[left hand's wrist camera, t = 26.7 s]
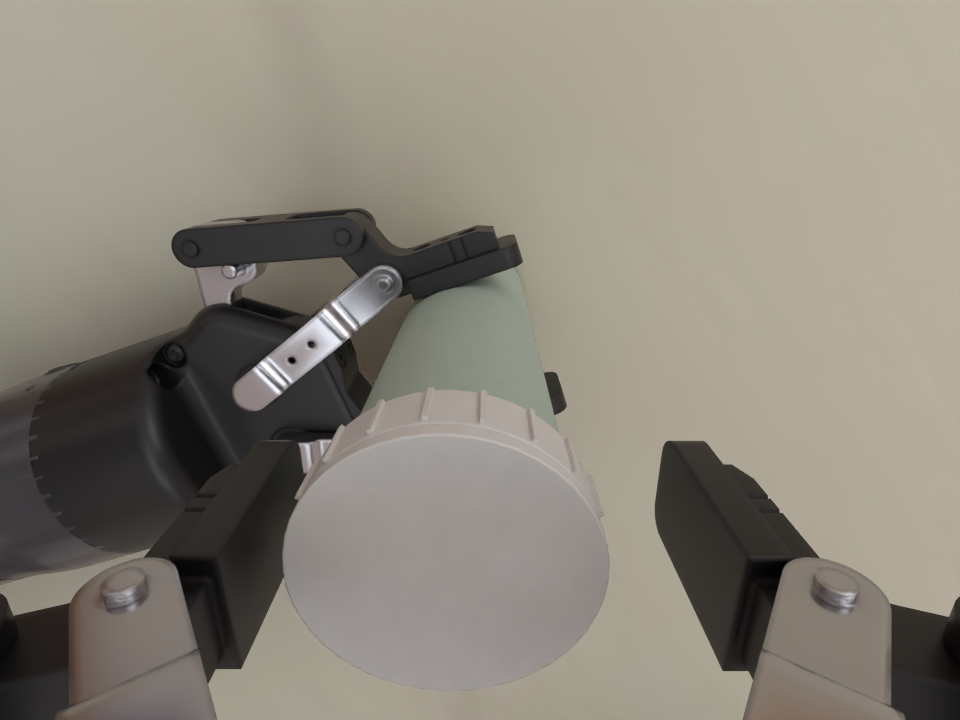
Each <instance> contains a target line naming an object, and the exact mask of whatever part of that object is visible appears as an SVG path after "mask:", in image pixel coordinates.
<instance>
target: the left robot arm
mask: <svg viewBox="0 0 960 720" xmlns="http://www.w3.org/2000/svg"><path fill="white" fill-rule="evenodd" d="M303 481H304V472H303V465H302V457H301V450H300V446H299V444H298V442H297V441H296V440H259V441H258V442H257V443H256V444H255V445H254V446H253V448H252V449H251V450H250V451H249V453H248V454H247V455H246V457H245V458H244V459H243V461H242V462H241V463H240V464H230V465H229V466H227V467H226V468H224V469H223V470H221V471H219V472H218V473H216V474H215V475H213V476H212V477H210V478H209V479H208V480H207V482H206V483H205V484H204V485H203V487H202V488H201V489H200V490H199V491H198V493H197V494H196V498H193V499H192V500H191V501H190V502H189V503H188V505H187V506H186V507H185V511H184V512H181V513H180V514H179V516H178V517H177V518H176V519H175V520H174V522H173V523H172V524H171V525H170V526H169V528H168V529H167V530H166V531H165V532H164V534H163V535H162V536H161V537H160V539H159V540H158V541H157V542H156V543H155V545H154V546H153V547H152V548H151V549H150V551H149V552H148V553H147V554H146V555H145V557H144V558H139V559H134V560H130V561H127V562H123V563H121V564H118V565H115V566H113V567H111V568H109V569H107V570H105V571H103V572H101V573H100V574H98V575H96V576H95V577H93V578H92V579H91V580H89V581H88V582H87V583H86V584H85V585H83V586H82V587H81V588H80V589H79V591H78V592H77V593H76V594H75V596H74V597H73V599H72V601H71V603H68V604H64V605H60V606H55V607H51V608H46V609H42V610H37V611H33V612H29V613H24V614H20V615H15V616H13V614H12V611H11V609H10V606H9V604H8V601H7V599H6V598H5V597H4V596H3V595H2V594H0V720H217V717H216V713H215V709H214V706H213V702H212V698H211V694H210V691H209V687H208V683H209V681H210V679H211V677H212V675H213V673H214V671H215V669H241V668H242V666H243V664H244V662H245V659H246V657H247V655H248V653H249V651H250V649H251V646H252V644H253V642H254V640H255V638H256V636H257V633H258V631H259V629H260V627H261V625H262V623H263V620H264V618H265V616H266V614H267V612H268V610H269V607H270V605H271V603H272V601H273V599H274V597H275V594H276V592H277V590H278V588H279V586H280V584H281V581H282V579H283V577H284V574H283V564H282V549H283V541H284V535H285V531H286V528H287V525H288V522H289V519H290V517H291V515H292V513H293V511H294V509H295V507H296V505H297V503H298V501H299V500H296V499H294V498H295V496H296V494H297V492H298V490H299V488H300V486H301V484H302V482H303ZM655 519H656V525H657V529H658V533H659V535H660V537H661V539H662V542H663V544H664V546H665V548H666V550H667V552H668V554H669V557H670V559H671V561H672V563H673V565H674V567H675V569H676V572H677V574H678V576H679V578H680V580H681V582H682V584H683V587H684V589H685V591H686V593H687V595H688V597H689V599H690V602H691V604H692V606H693V608H694V610H695V612H696V614H697V617H698V619H699V621H700V623H701V625H702V627H703V629H704V631H705V634H706V636H707V638H708V640H709V642H710V644H711V646H712V649H713V651H714V653H715V655H716V657H717V659H718V661H719V664H720V666H721V668H722V670H723V671H749V673H750V675H751V677H752V678H753V683H752V687H751V691H750V694H749V698H748V702H747V706H746V709H745V713H744V717H743V720H960V597H959V598H958V599H957V600H956V601H955V604H954V606H953V609H952V611H951V614H950V616H949V617H946V616H941V615H937V614H932V613H928V612H924V611H919V610H915V609H910V608H906V607H901V606H897V605H893V604H890V603H889V601H888V599H887V597H886V596H885V594H884V593H883V592H882V591H881V589H880V588H879V587H878V586H877V585H875V584H874V583H873V582H872V581H871V580H869V579H868V578H867V577H865V576H864V575H862V574H860V573H859V572H857V571H855V570H853V569H851V568H849V567H847V566H845V565H842V564H839V563H837V562H833V561H830V560H826V559H821V558H819V556H818V555H817V554H816V553H815V552H814V550H813V549H812V548H811V547H810V546H809V544H808V543H807V542H806V541H805V540H804V538H803V537H802V536H801V535H800V534H799V532H798V531H797V530H796V529H795V528H794V526H793V525H792V524H791V523H790V522H789V520H788V519H787V518H786V517H785V516H784V515H783V513H780V512H779V509H778V507H777V506H776V505H775V504H774V503H773V501H772V500H771V499H768V495H767V494H766V493H765V492H764V491H763V489H762V488H761V487H760V486H759V485H758V483H757V482H756V481H755V480H754V479H753V478H752V477H750V476H749V475H747V474H745V473H744V472H742V471H741V470H739V469H738V468H736V467H735V466H733V465H723V464H722V462H721V461H720V460H719V458H718V457H717V456H716V455H715V453H714V452H713V451H712V449H711V448H710V447H709V446H708V444H707V443H706V442H704V441H667V442H666V443H665V444H664V447H663V451H662V457H661V464H660V471H659V479H658V486H657V493H656V500H655Z"/></svg>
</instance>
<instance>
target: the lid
mask: <svg viewBox="0 0 960 720" xmlns="http://www.w3.org/2000/svg"><path fill="white" fill-rule="evenodd" d="M294 499H296V500H299V501H298V503H297V505H296V507H295V509H294V511H293V513H292V515H291V517H290V519H289V522H288V525H287V528H286V531H285V535H284V541H283V549H282V564H283V574H284V579H285V584H286V588H287V591H288V593H289V596H290V598H291V601H292V604H293V605H294V607H295V609H296V611H297V613H298V614H299V616H300V618H301V619H302V621H303V622H304V623H305V625H306V626H307V627H308V629H309V630H310V631H311V632H312V633H313V634H314V635H315V636H316V638H317V639H318V640H319V641H320V642H321V643H322V644H323V645H325V646H326V647H327V648H328V649H329V650H331V651H332V652H333V653H334V654H336V655H337V656H338V657H340V658H341V659H343V660H345V661H346V662H348V663H349V664H351V665H352V666H354V667H356V668H358V669H360V670H362V671H364V672H366V673H368V674H371V675H373V676H376V677H378V678H381V679H384V680H386V681H390V682H393V683H397V684H401V685H404V686H409V687H415V688H420V689H428V690H440V691H464V690H473V689H482V688H487V687H492V686H497V685H502V684H505V683H508V682H512V681H515V680H518V679H520V678H523V677H525V676H528V675H530V674H532V673H535V672H537V671H538V670H540V669H542V668H544V667H546V666H547V665H549V664H551V663H552V662H554V661H555V660H557V659H558V658H559V657H561V656H562V655H564V654H565V653H566V652H567V651H568V650H569V649H570V648H571V647H573V646H574V645H575V644H576V643H577V642H578V641H579V640H580V638H581V637H582V636H583V635H584V634H585V632H586V631H587V630H588V629H589V627H590V626H591V624H592V622H593V621H594V619H595V617H596V616H597V614H598V612H599V609H600V607H601V605H602V602H603V600H604V597H605V593H606V589H607V585H608V578H609V566H610V565H609V553H608V546H607V542H606V538H605V535H604V531H603V527H602V524H601V521H600V518H599V517H602V516H604V514H603V511H602V507H601V504H600V501H599V498H598V495H597V492H596V488H595V485H594V482H593V479H592V476H591V475H588V476H587V475H586V473H585V471H584V468H583V466H582V464H581V462H580V460H579V459H578V457H577V456H576V454H575V452H574V449H573V446H572V442H571V440H570V439H569V438H568V437H567V438H566V439H564V438H563V437H562V436H561V435H560V434H559V433H558V432H557V431H556V430H555V429H553V428H552V427H551V426H550V425H549V424H548V423H547V422H545V421H544V420H542V419H541V418H539V417H538V416H536V415H535V410H534V409H532V408H529V409H528V410H526V409H524V408H522V407H520V406H518V405H516V404H514V403H512V402H509V401H506V400H503V399H500V398H498V397H495V396H491V395H487V391H485V390H481V391H480V393H477V392H471V391H461V390H434V387H428V388H427V391H425V392H418V393H413V394H409V395H405V396H401V397H398V398H394V399H392V400H389V401H387V402H385V401H384V399H381V400H379V401H378V402H377V404H376V406H375V407H373V408H372V409H370V410H368V411H366V412H365V413H363V414H361V415H360V416H358V417H357V418H356V419H354V420H353V421H352V422H350V423H349V424H348V425H347V426H344V425H340V426H339V427H338V429H337V431H336V433H335V435H334V437H333V439H332V441H331V443H330V444H329V446H328V447H327V449H326V450H325V451H324V453H323V455H322V457H321V459H320V461H318V460H316V459H315V460H314V462H313V464H312V466H311V468H310V469H309V471H308V473H307V475H306V477H305V479H304V481H303V482H302V484H301V486H300V488H299V490H298V492H297V494H296V496H295V498H294Z"/></svg>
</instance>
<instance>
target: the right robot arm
mask: <svg viewBox="0 0 960 720" xmlns="http://www.w3.org/2000/svg"><path fill="white" fill-rule="evenodd" d="M172 251H173V253H174V255H175V257H176V258H177V260H178V261H179V262H181V263H182V264H183V265H185V266H187V267H191V268H194V269H195V273H196V276H197V280H198V284H199V287H200V291H201V295H202V298H203V302H204V306H205V308H204V309H202V310H201V311H200V312H199V313H198V314H197V315H196V316H195V317H194V319H193V320H192V322H191V323H190V324H189V325H188V326H186V327H184V328H181V329H178V330H175V331H172V332H169V333H166V334H163V335H160V336H158V337H155V338H152V339H149V340H146V341H143V342H140V343H137V344H134V345H131V346H128V347H126V348H123V349H120V350H117V351H114V352H111V353H108V354H105V355H102V356H100V357H97V358H94V359H91V360H88V361H85V362H82V363H74V364H69V365H65V366H62V367H58V368H55V369H52V370H50V371H48V373H46V374H44V376H41V377H38V378H36V379H33V380H30V381H27V382H25V383H22V384H20V385H17V386H15V387H12V388H10V389H7V390H5V391H3V392H1V393H0V585H2V584H5V583H9V582H12V581H16V580H19V579H22V578H25V577H30V576H34V575H39V574H48V573H56V572H62V571H69V570H75V569H79V568H83V567H87V566H91V565H94V564H98V563H101V562H105V561H108V560H112V559H115V558H119V557H122V556H126V555H129V554H133V553H136V552H140V551H143V550H147V549H150V548H152V547H153V546H154V545H155V543H156V542H157V541H158V540H159V539H160V537H161V536H162V535H163V534H164V532H165V531H166V530H167V529H168V528H169V526H170V525H171V524H172V523H173V522H174V520H175V519H176V518H177V517H178V516H179V514H180V513H181V512H184V511H185V507H186V506H187V505H188V503H189V502H190V501H191V500H192V499H193V498H196V494H197V493H198V491H199V490H200V489H201V488H202V487H203V485H204V484H205V483H206V482H207V480H208V479H209V478H210V477H212V476H213V475H215V474H216V473H218V472H219V471H221V470H223V469H224V468H226V467H227V466H229V465H230V464H240V463H241V462H242V461H243V459H244V458H245V457H246V455H247V454H248V453H249V451H250V450H251V449H252V448H253V446H254V445H255V444H256V443H257V442H258V441H259V440H296V441H297V442H298V444H299V446H300V450H301V457H302V465H303V472H304V479H305V477H306V475H307V473H308V471H309V469H310V468H311V466H312V464H313V462H314V460H315V459H316V460H318V461H320V459H321V457H322V455H323V453H324V451H325V450H326V449H327V447H328V446H329V444H330V443H331V441H332V439H333V437H334V435H335V433H336V431H337V429H338V427H339V426H340V425H344V426H347V425H348V424H349V423H350V422H352V421H353V420H354V419H356V418H357V417H358V416H360V414H361V412H362V410H363V408H364V406H365V403H366V401H367V399H368V397H369V395H370V393H371V390H372V387H371V385H370V384H369V383H368V382H367V380H366V379H365V378H364V377H363V375H362V374H361V373H360V372H359V370H358V365H357V358H356V352H355V349H354V347H353V344H352V342H351V340H350V337H351V336H352V335H353V334H354V333H355V332H356V331H357V330H358V329H359V328H360V327H361V326H363V325H364V324H365V323H366V322H368V321H369V320H370V319H371V318H373V317H374V316H375V315H376V314H378V313H379V312H380V311H381V310H383V309H384V308H385V307H386V306H388V305H389V304H390V303H391V302H393V301H394V300H395V299H396V298H399V297H402V296H405V295H408V294H411V293H412V296H413V298H414V301H415V300H418V299H421V298H424V297H427V296H430V295H433V294H436V293H438V292H441V291H444V290H448V289H451V288H454V287H457V286H460V285H463V284H466V283H469V282H472V281H475V280H478V279H481V278H484V277H487V276H490V275H493V274H496V273H499V272H502V271H505V270H508V269H511V268H514V267H516V266H518V265H520V264H521V263H522V262H523V260H522V257H521V254H520V250H519V247H518V244H517V241H516V238H515V235H507V236H503V237H500V238H497V237H496V234H495V231H494V228H493V226H479V225H477V226H474V227H471V228H468V229H465V230H462V231H460V232H457V233H454V234H451V235H448V236H445V237H442V238H439V239H436V240H433V241H431V242H428V243H425V244H422V245H419V246H416V247H413V248H408V249H404V248H399V247H396V246H394V245H393V244H391V243H390V242H389V241H388V240H387V239H386V238H385V236H384V235H383V234H382V233H381V232H380V231H379V229H378V228H377V227H376V222H375V219H374V218H373V216H372V215H371V214H370V213H369V212H368V211H366V210H364V209H360V208H354V209H342V210H329V211H317V212H304V213H291V214H279V215H266V216H253V217H241V218H228V219H218V220H215V221H211V222H207V223H204V224H200V225H197V226H193V227H190V228H187V229H184V230H181V231H179V232H177V233H176V234H175V235H174V237H173V239H172ZM332 257H342V258H343V260H344V261H345V262H346V263H347V264H348V265H349V266H350V267H351V269H352V270H353V271H354V272H355V273H356V274H357V275H358V277H356V278H355V279H354V280H353V281H352V282H350V283H349V284H348V285H346V286H345V287H344V288H342V289H341V290H340V291H339V292H338V293H336V294H335V295H334V296H333V297H332V298H330V299H329V300H328V301H327V302H326V303H324V304H323V305H322V306H321V307H319V308H318V309H317V310H316V311H315V312H313V313H312V314H311V315H310V316H307V315H304V314H300V313H297V312H293V311H290V310H286V309H283V308H279V307H276V306H272V305H269V304H266V303H262V302H259V301H255V300H252V299H248V298H245V297H242V295H241V291H242V287H243V285H244V284H248V283H250V282H251V281H253V280H255V279H256V278H258V277H260V276H261V275H262V274H263V273H264V272H265V270H266V266H267V262H280V261H293V260H306V259H319V258H332ZM544 376H545V380H546V384H547V388H548V392H549V396H550V400H551V404H552V408H553V412H554V415H555V414H558V413H560V412H562V411H563V410H564V409H565V408H566V406H567V404H566V401H565V398H564V395H563V391H562V388H561V385H560V382H559V379H558V376H557V374H556V373H554V372H546V373H544Z"/></svg>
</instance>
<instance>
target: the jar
mask: <svg viewBox="0 0 960 720" xmlns="http://www.w3.org/2000/svg"><path fill="white" fill-rule="evenodd" d="M428 387H434V390H461V391H471V392H477V393H480V391H481V390H485V391H487V395H491V396H495V397H498V398H500V399H503V400H506V401H509V402H512V403H514V404H516V405H518V406H520V407H522V408H524V409H526V410H528V409H529V408H532V409H534V410H535V415H536V416H538V417H539V418H541V419H542V420H544V421H545V422H547V423H548V424H549V425H550V426H551V427H552V428H553V429H555V430H556V431H557V432H558V428H557V424H556V420H555V416H554V412H553V408H552V404H551V400H550V396H549V392H548V388H547V384H546V380H545V376H544V372H543V368H542V364H541V360H540V356H539V352H538V348H537V344H536V340H535V336H534V332H533V328H532V324H531V320H530V316H529V311H528V307H527V303H526V299H525V295H524V291H523V287H522V283H521V280H520V277H519V275H518V273H517V271H516V269H515V268H511V269H508V270H505V271H502V272H499V273H496V274H493V275H490V276H487V277H484V278H481V279H478V280H475V281H472V282H469V283H466V284H463V285H460V286H457V287H454V288H451V289H448V290H444V291H441V292H438V293H436V294H433V295H430V296H427V297H424V298H421V299H418V300H415V301H414V300H413V302H412V304H411V306H410V308H409V310H408V313H407V315H406V317H405V319H404V321H403V323H402V326H401V328H400V330H399V332H398V334H397V336H396V338H395V341H394V343H393V345H392V347H391V349H390V351H389V354H388V356H387V358H386V360H385V362H384V364H383V367H382V369H381V371H380V373H379V375H378V377H377V380H376V382H375V384H374V386H373V388H372V390H371V393H370V395H369V397H368V399H367V401H366V403H365V406H364V408H363V410H362V412H361V414H363V413H365V412H366V411H368V410H370V409H372V408H373V407H375V406H376V404H377V402H378V401H379V400H381V399H384V401H385V402H387V401H389V400H392V399H394V398H398V397H401V396H405V395H409V394H413V393H418V392H425V391H427V388H428ZM361 414H360V415H361ZM558 433H559V432H558Z"/></svg>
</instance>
